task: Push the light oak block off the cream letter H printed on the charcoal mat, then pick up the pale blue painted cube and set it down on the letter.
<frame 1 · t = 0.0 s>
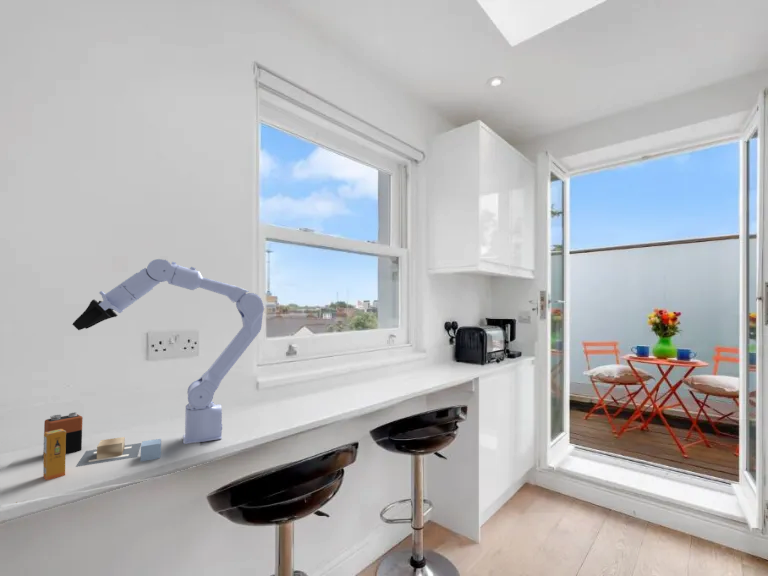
hand: (79, 326, 96), 32 cm above the worktop, tool tilted 50°, fingers open, 7 cm apart
letter mat: (111, 455, 95), on the worktop
battery: (62, 455, 96), on the worktop
supplement box: (53, 478, 83), on the worktop
blue cube: (151, 459, 93), on the worktop
oak block: (111, 453, 95), resting on letter mat
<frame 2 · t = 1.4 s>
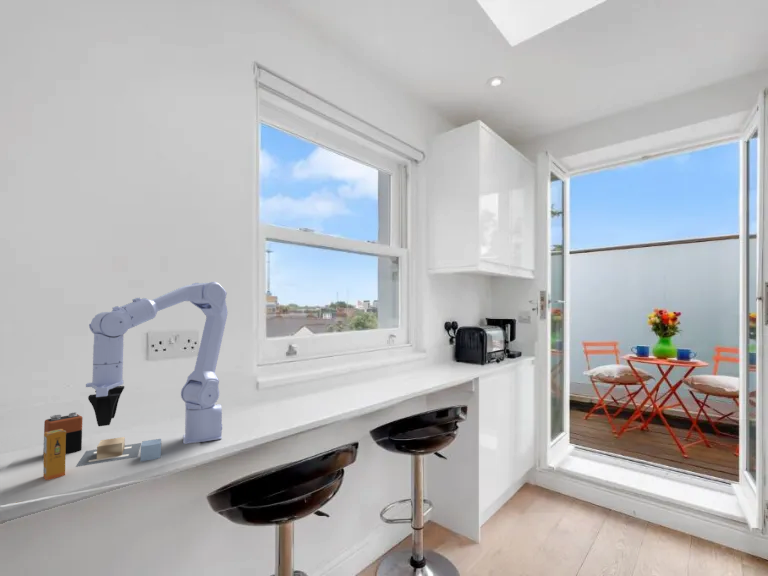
hand: (106, 421, 88), 10 cm above the worktop, tool pointing down, fingers open, 5 cm apart
nothing on the worktop moved.
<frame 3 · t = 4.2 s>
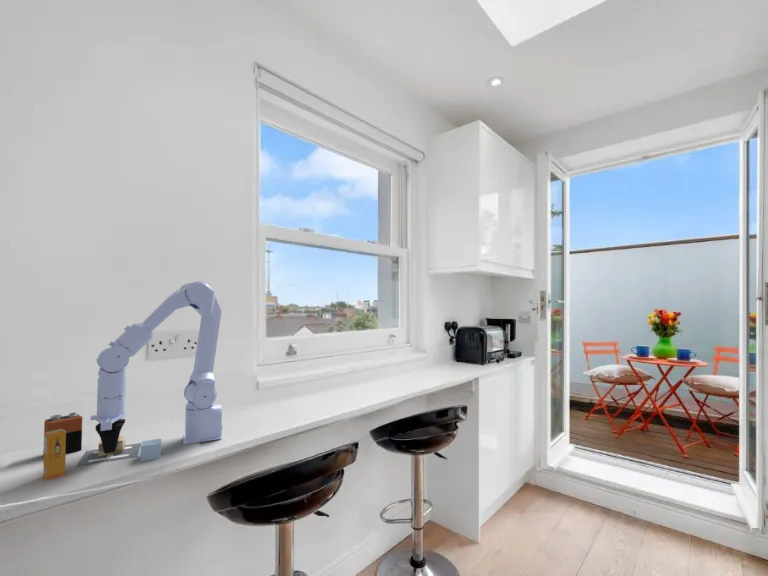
hand: (110, 452, 94), 1 cm above the worktop, tool pointing down, fingers closed
oak block: (112, 451, 97), resting on letter mat, touching gripper
everything else where it was.
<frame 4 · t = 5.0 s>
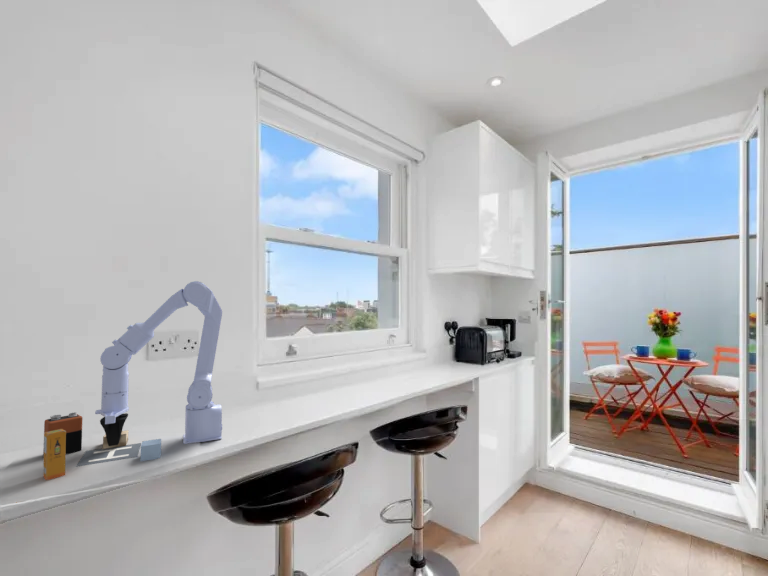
hand: (113, 444, 99), 1 cm above the worktop, tool pointing down, fingers closed
oak block: (115, 445, 102), on the worktop, tilted 5°, touching gripper, letter mat
everything else where it was.
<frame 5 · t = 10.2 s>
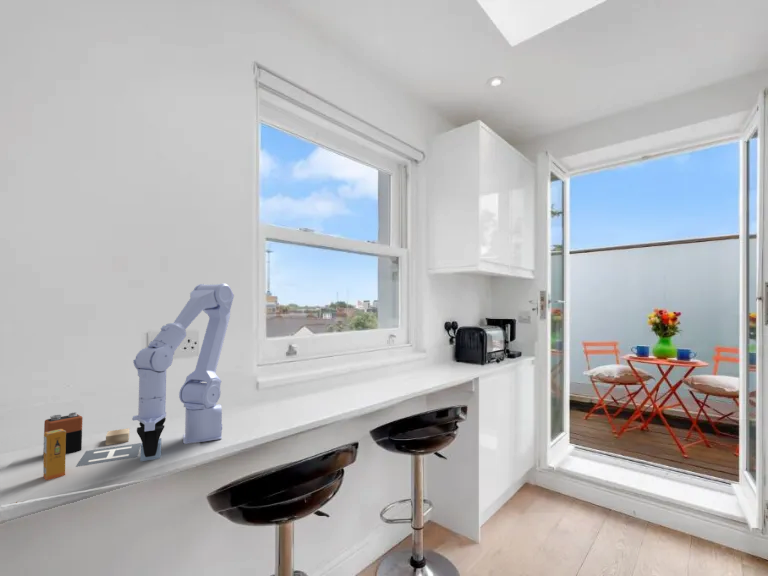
hand: (151, 452, 93), 1 cm above the worktop, tool pointing down, fingers closed on blue cube, 4 cm apart
blue cube: (151, 458, 93), on the worktop, touching gripper
oak block: (117, 443, 104), on the worktop
everything else where it was.
when the fingers open (3 cm above the worktop, at t = 15.2 s): blue cube stays where it is, resting on letter mat.
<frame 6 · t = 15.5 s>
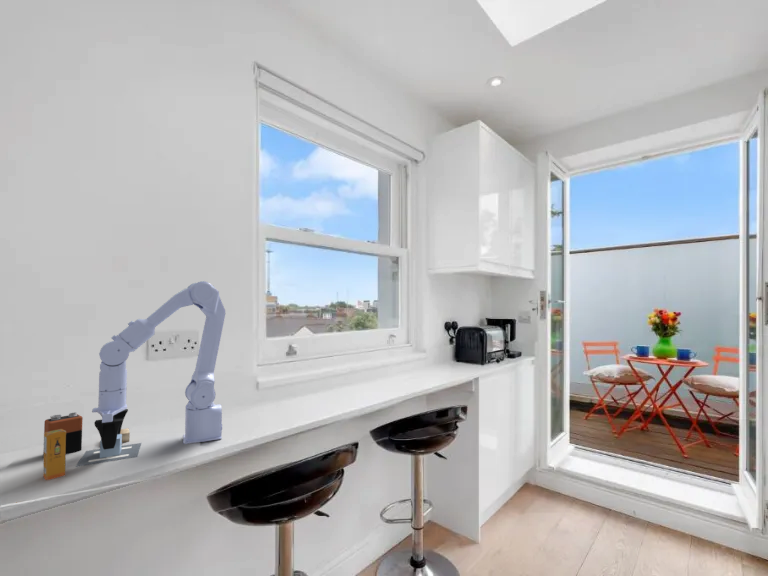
hand: (111, 444, 95), 3 cm above the worktop, tool pointing down, fingers open, 6 cm apart
blue cube: (110, 453, 95), resting on letter mat
everything else where it was.
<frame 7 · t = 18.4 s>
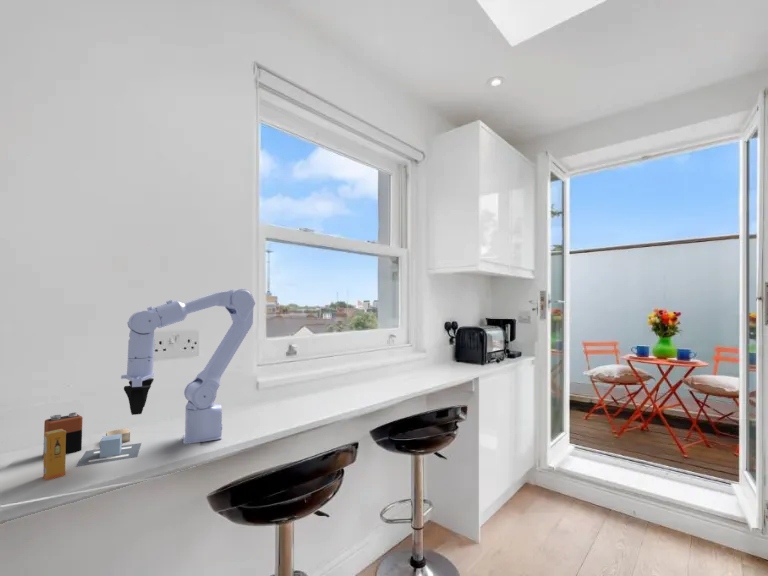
hand: (138, 410, 98), 10 cm above the worktop, tool pointing down, fingers open, 7 cm apart
nothing on the worktop moved.
at the end: blue cube 0.1 cm off-centre on the letter mat, point 0.4 cm above the letter mat's base; the gripper is holding nothing; oak block touching worktop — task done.
